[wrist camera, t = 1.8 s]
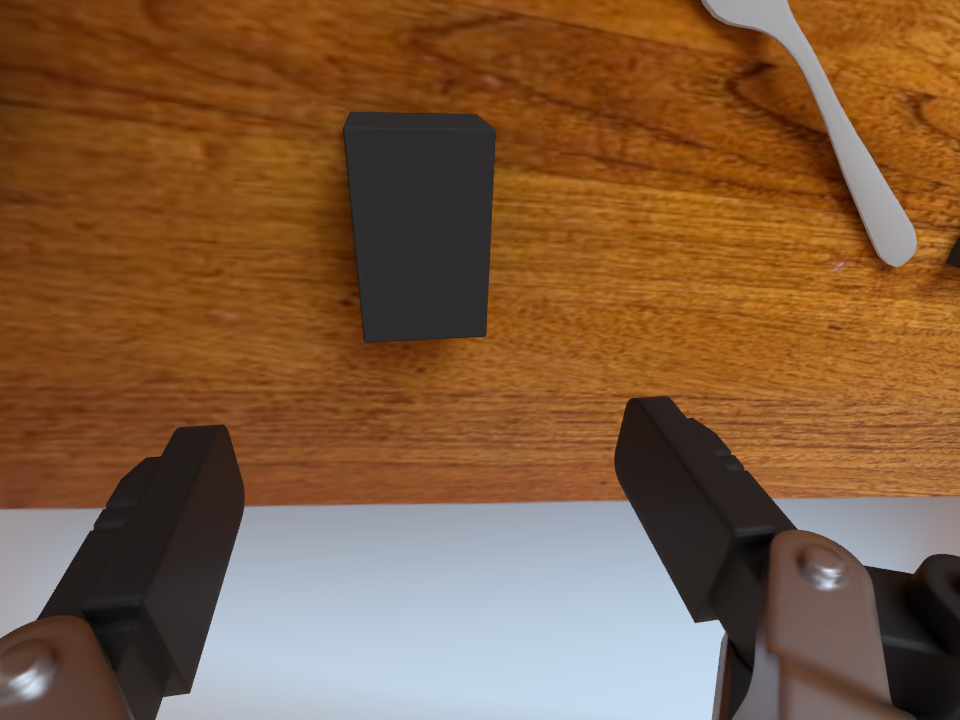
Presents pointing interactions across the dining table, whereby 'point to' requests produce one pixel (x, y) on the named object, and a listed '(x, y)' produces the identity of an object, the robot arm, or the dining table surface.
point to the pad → (421, 222)
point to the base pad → (955, 256)
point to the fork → (831, 127)
